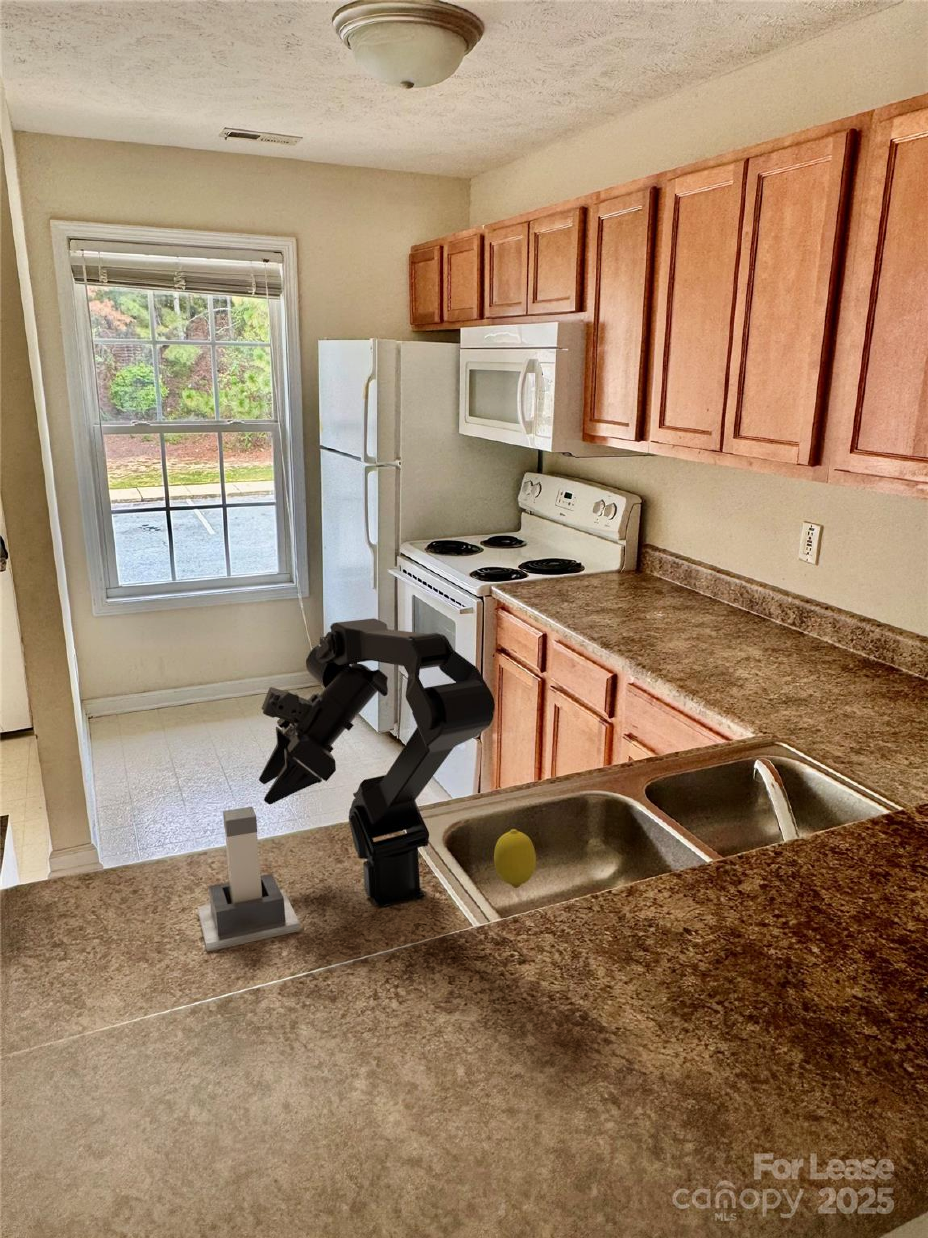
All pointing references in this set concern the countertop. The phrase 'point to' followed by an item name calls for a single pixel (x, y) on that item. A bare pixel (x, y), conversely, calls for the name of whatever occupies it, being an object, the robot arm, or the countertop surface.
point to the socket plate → (246, 916)
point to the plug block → (242, 854)
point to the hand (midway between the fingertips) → (263, 792)
